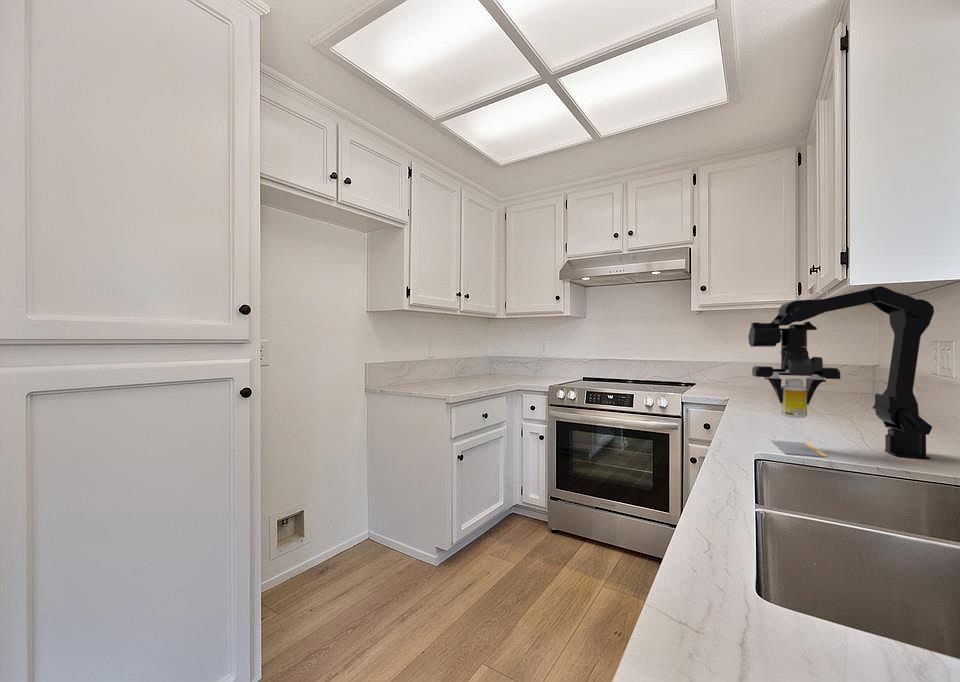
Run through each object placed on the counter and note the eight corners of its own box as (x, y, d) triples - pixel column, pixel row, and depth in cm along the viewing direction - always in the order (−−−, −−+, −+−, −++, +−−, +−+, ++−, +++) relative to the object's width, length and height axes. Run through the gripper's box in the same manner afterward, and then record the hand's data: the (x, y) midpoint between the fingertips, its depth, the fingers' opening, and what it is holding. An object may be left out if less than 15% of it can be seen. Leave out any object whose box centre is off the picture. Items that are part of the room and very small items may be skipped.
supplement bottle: (811, 418, 112) (811, 380, 112) (789, 418, 113) (789, 380, 113) (799, 415, 118) (799, 378, 118) (777, 414, 118) (777, 378, 118)
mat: (808, 444, 120) (808, 442, 120) (827, 457, 106) (827, 455, 106) (771, 441, 123) (771, 440, 123) (785, 454, 109) (785, 452, 109)
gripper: (760, 347, 111) (760, 406, 111) (849, 347, 104) (849, 410, 104) (751, 346, 122) (751, 400, 122) (832, 346, 114) (832, 404, 114)
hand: (794, 403), depth 115 cm, fingers closed on supplement bottle, 6 cm apart
